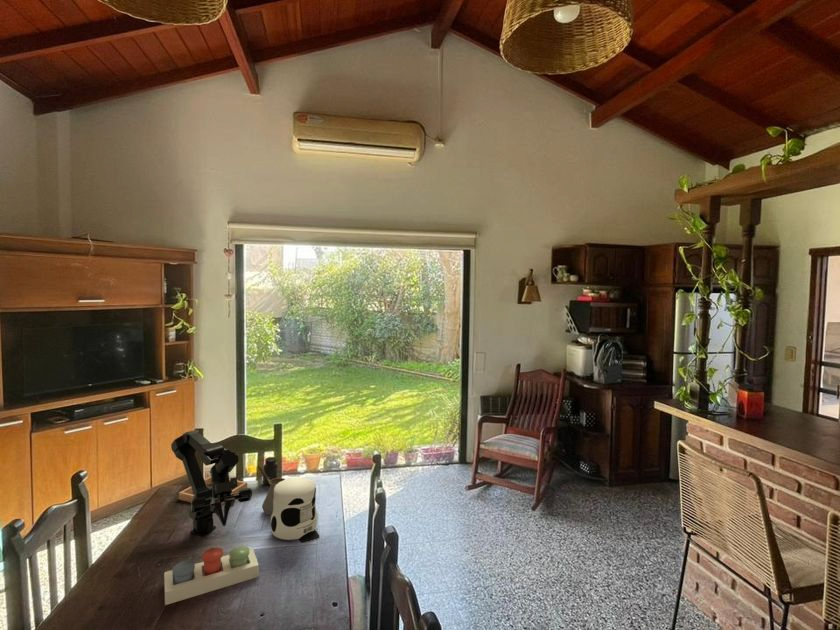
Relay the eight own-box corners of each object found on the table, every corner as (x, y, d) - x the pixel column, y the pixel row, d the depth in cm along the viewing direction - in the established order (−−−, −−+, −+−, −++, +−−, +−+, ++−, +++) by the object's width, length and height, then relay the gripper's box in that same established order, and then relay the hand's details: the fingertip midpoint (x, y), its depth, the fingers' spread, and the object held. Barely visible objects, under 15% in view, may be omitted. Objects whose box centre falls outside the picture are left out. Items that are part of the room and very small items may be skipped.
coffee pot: (296, 511, 180) (297, 476, 179) (271, 521, 171) (271, 485, 170) (269, 494, 194) (269, 461, 193) (244, 503, 185) (245, 469, 184)
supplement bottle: (263, 487, 199) (263, 462, 199) (261, 481, 205) (261, 457, 205) (278, 485, 203) (279, 460, 202) (276, 479, 209) (276, 455, 208)
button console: (164, 584, 134) (164, 572, 134) (252, 559, 147) (252, 548, 147) (164, 605, 125) (164, 592, 125) (258, 576, 139) (258, 564, 139)
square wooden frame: (178, 499, 186) (178, 492, 186) (212, 481, 204) (212, 475, 204) (215, 508, 180) (215, 501, 180) (247, 488, 198) (247, 482, 198)
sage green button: (228, 566, 141) (228, 549, 141) (247, 561, 145) (247, 544, 144) (230, 577, 136) (230, 559, 136) (250, 571, 140) (251, 553, 139)
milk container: (279, 518, 174) (280, 475, 172) (322, 520, 173) (323, 477, 172) (263, 544, 156) (263, 496, 155) (310, 546, 156) (311, 498, 155)
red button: (200, 569, 137) (201, 550, 137) (221, 563, 140) (221, 545, 140) (202, 580, 132) (202, 561, 132) (224, 574, 135) (224, 555, 135)
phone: (307, 518, 174) (320, 536, 162) (307, 520, 174) (320, 538, 162) (289, 523, 170) (300, 542, 158) (289, 525, 170) (300, 544, 158)
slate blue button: (172, 582, 133) (172, 564, 133) (193, 576, 136) (193, 558, 136) (172, 594, 128) (172, 575, 128) (195, 588, 131) (195, 569, 131)
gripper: (191, 475, 142) (194, 524, 133) (251, 465, 152) (257, 509, 143) (190, 489, 149) (192, 535, 141) (247, 478, 159) (252, 521, 150)
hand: (224, 525), depth 144 cm, fingers closed
